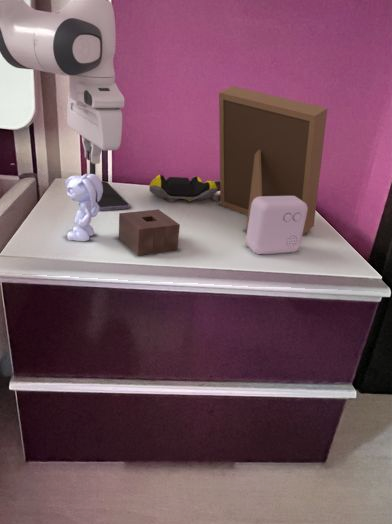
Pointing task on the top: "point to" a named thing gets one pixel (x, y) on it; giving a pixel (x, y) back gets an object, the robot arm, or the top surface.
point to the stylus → (92, 165)
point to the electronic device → (276, 224)
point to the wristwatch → (217, 197)
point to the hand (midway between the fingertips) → (92, 161)
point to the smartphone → (110, 199)
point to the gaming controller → (182, 188)
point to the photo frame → (269, 149)
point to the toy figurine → (84, 203)
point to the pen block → (148, 232)
